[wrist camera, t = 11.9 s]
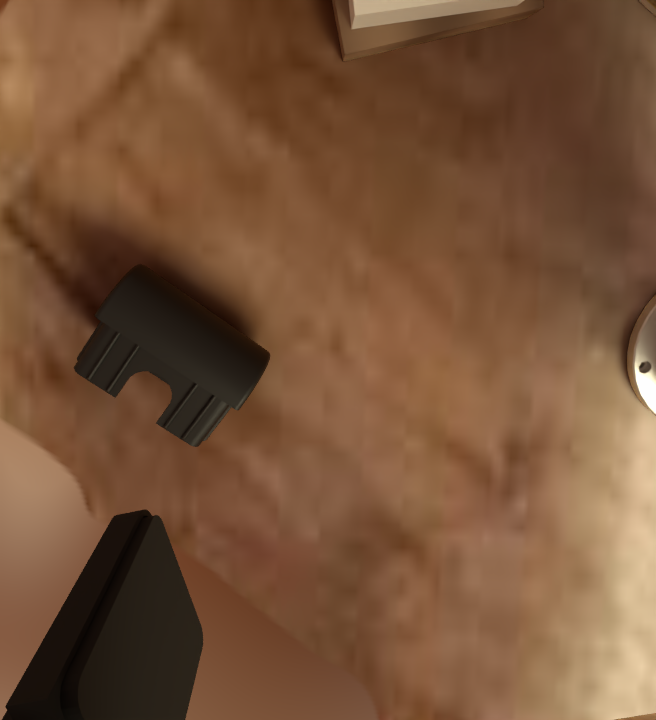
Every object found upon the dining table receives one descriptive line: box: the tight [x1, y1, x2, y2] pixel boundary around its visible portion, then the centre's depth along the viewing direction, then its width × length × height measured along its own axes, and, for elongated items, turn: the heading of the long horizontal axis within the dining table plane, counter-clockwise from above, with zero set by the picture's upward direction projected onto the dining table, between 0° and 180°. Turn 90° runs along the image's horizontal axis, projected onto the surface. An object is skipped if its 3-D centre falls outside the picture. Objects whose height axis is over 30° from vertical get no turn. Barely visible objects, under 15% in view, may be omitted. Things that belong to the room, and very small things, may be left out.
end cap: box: [74, 264, 270, 447], centre depth 38 cm, size 10×7×7 cm
